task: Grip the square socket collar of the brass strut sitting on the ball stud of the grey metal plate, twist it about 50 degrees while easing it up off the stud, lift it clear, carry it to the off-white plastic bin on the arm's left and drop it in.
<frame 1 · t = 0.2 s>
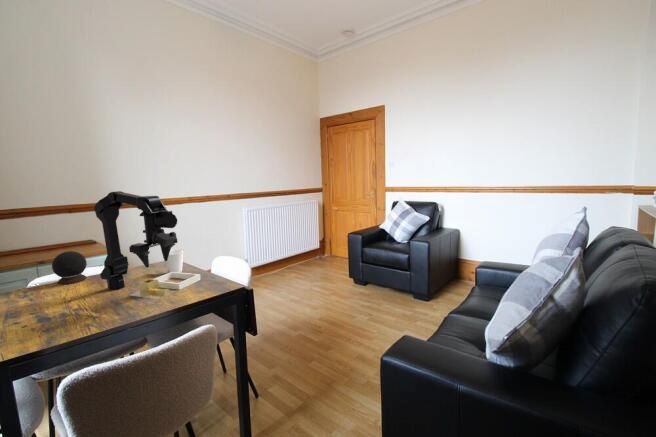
hand: (156, 264, 130), 14 cm above the table, tool pointing down, fingers open, 9 cm apart
stud plate: (150, 294, 133), on the table
cup: (175, 273, 163), on the table
strut: (149, 292, 133), point 1 cm above the table, touching stud plate
bin: (175, 284, 144), on the table
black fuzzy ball: (72, 281, 156), on the table
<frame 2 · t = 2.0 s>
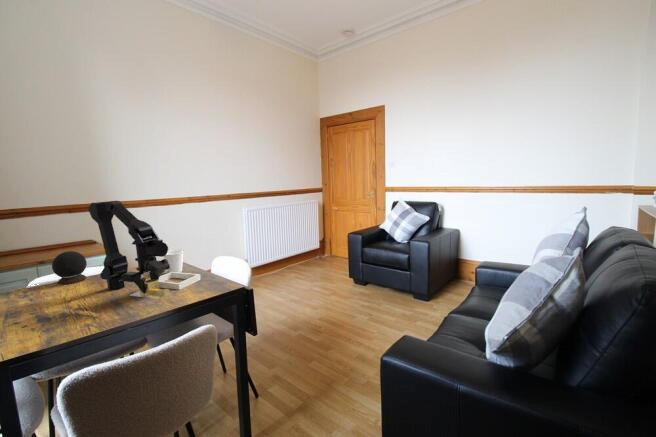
hand: (149, 290, 133), 2 cm above the table, tool pointing down, fingers closed on strut, 5 cm apart
strut: (149, 292, 133), point 1 cm above the table, touching gripper, stud plate
everything else where it was.
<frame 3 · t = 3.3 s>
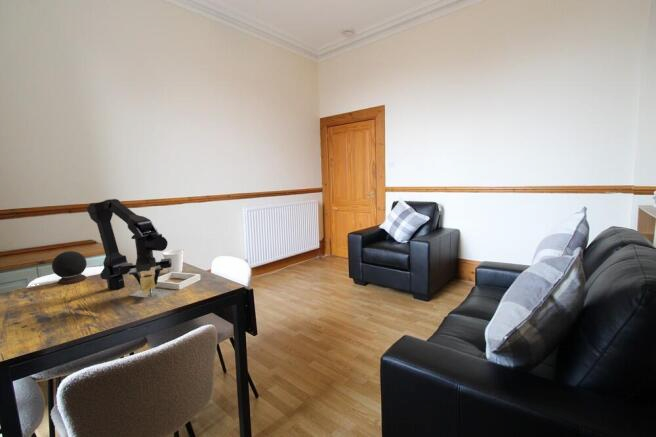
hand: (148, 285, 132), 4 cm above the table, tool pointing down, fingers closed on strut, 5 cm apart
strut: (149, 287, 133), point 3 cm above the table, touching gripper
everything else where it was.
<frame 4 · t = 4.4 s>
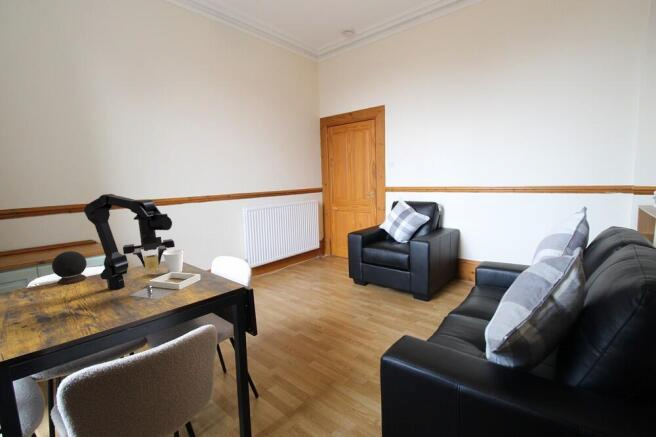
hand: (151, 265, 134), 12 cm above the table, tool pointing down, fingers closed on strut, 5 cm apart
strut: (152, 267, 134), point 11 cm above the table, touching gripper
everything else where it was.
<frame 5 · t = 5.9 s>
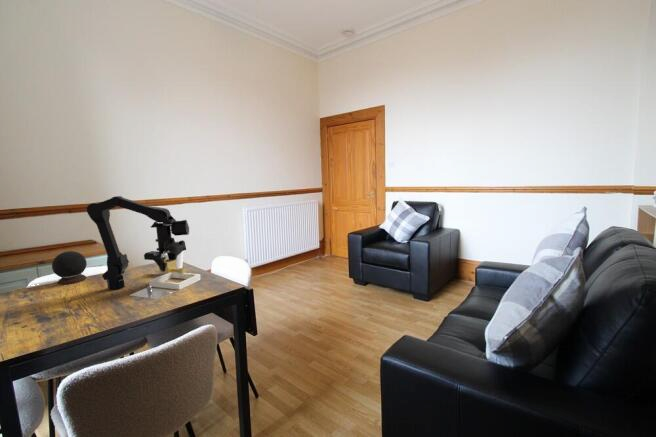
hand: (168, 269, 144), 7 cm above the table, tool pointing down, fingers closed on strut, 5 cm apart
strut: (168, 271, 144), point 6 cm above the table, touching gripper
everything else where it was.
when the fingers open (4 cm above the table, at t = 6.9 s): strut drops 2 cm, resting on bin.
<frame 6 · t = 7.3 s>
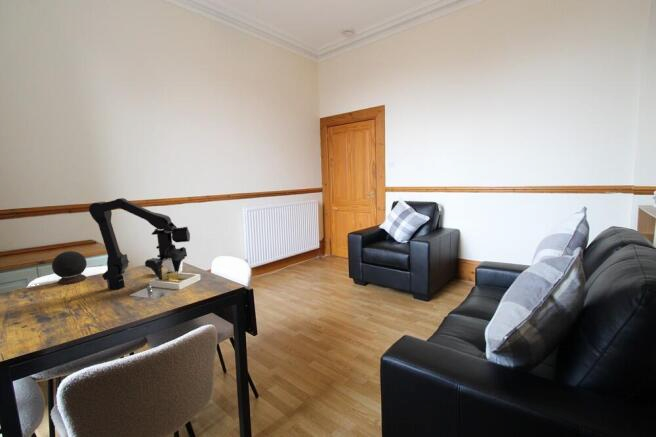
hand: (169, 276, 145), 4 cm above the table, tool pointing down, fingers open, 9 cm apart
strut: (169, 283, 145), resting on bin
everything else where it was.
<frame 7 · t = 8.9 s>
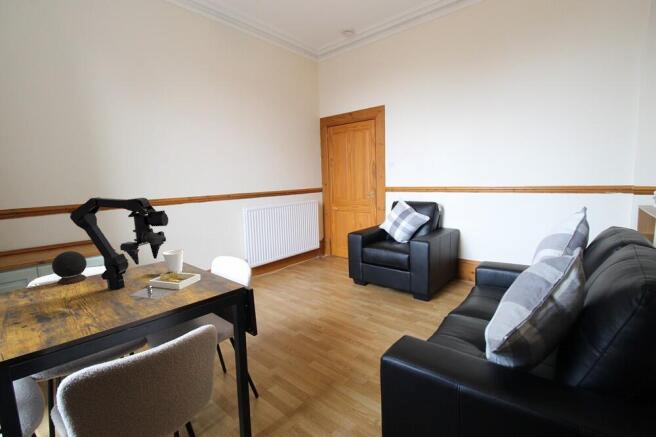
hand: (146, 261, 139), 12 cm above the table, tool pointing down, fingers open, 9 cm apart
nothing on the table moved.
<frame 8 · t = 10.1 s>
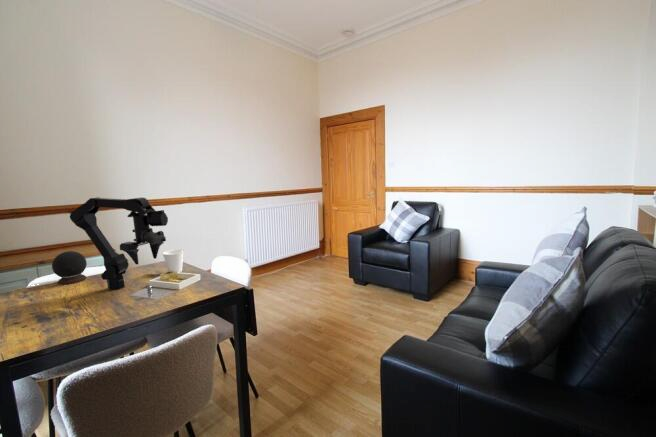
hand: (146, 261, 139), 13 cm above the table, tool pointing down, fingers open, 9 cm apart
nothing on the table moved.
at the end: strut inside the target area on the bin (3.4 cm from its centre), point 0.5 cm above the bin's base; the gripper is holding nothing; strut moved 12.7 cm from its start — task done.
